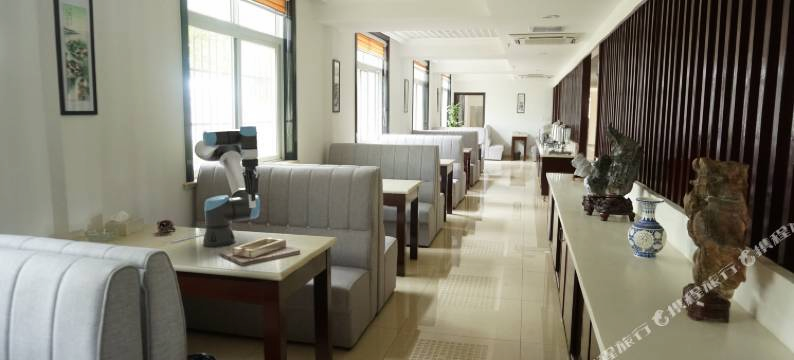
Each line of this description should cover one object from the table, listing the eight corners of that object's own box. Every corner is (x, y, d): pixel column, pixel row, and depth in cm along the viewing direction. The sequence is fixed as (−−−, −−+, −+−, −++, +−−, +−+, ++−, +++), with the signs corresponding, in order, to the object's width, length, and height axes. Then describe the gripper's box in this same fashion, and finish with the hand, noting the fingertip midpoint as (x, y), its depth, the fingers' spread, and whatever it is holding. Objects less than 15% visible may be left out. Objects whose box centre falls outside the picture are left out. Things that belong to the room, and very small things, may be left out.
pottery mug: (180, 232, 302) (177, 221, 297) (167, 242, 296) (163, 231, 291) (164, 225, 307) (160, 214, 302) (151, 235, 300) (147, 224, 295)
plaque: (204, 231, 303) (204, 230, 303) (216, 233, 298) (216, 232, 298) (150, 244, 275) (150, 243, 275) (162, 246, 270) (162, 245, 270)
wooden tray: (232, 254, 245) (232, 247, 244) (266, 243, 264) (266, 236, 263) (252, 257, 239) (252, 250, 239) (286, 245, 258) (285, 238, 258)
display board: (219, 255, 251) (219, 251, 251) (274, 244, 269) (274, 240, 269) (242, 266, 233) (242, 262, 233) (300, 253, 251) (300, 250, 251)
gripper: (236, 158, 262) (239, 206, 265) (248, 159, 252) (251, 210, 256) (250, 156, 267) (253, 204, 270) (263, 158, 257) (266, 208, 260)
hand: (252, 207), depth 263 cm, fingers closed
